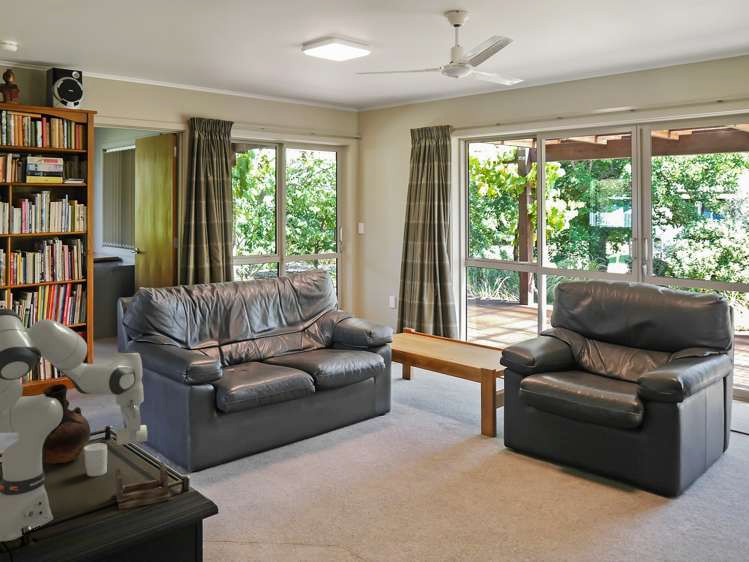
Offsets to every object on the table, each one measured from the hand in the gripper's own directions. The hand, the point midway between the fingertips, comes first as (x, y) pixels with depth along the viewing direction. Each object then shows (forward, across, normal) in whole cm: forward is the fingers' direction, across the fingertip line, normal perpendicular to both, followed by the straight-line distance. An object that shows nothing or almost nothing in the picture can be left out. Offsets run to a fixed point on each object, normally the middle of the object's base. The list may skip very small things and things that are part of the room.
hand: (131, 437), depth 234 cm
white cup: (+19, +23, +10) cm, 31 cm away
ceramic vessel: (+19, +42, +20) cm, 50 cm away
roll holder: (+19, -7, -2) cm, 20 cm away
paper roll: (+2, 0, 0) cm, 2 cm away
